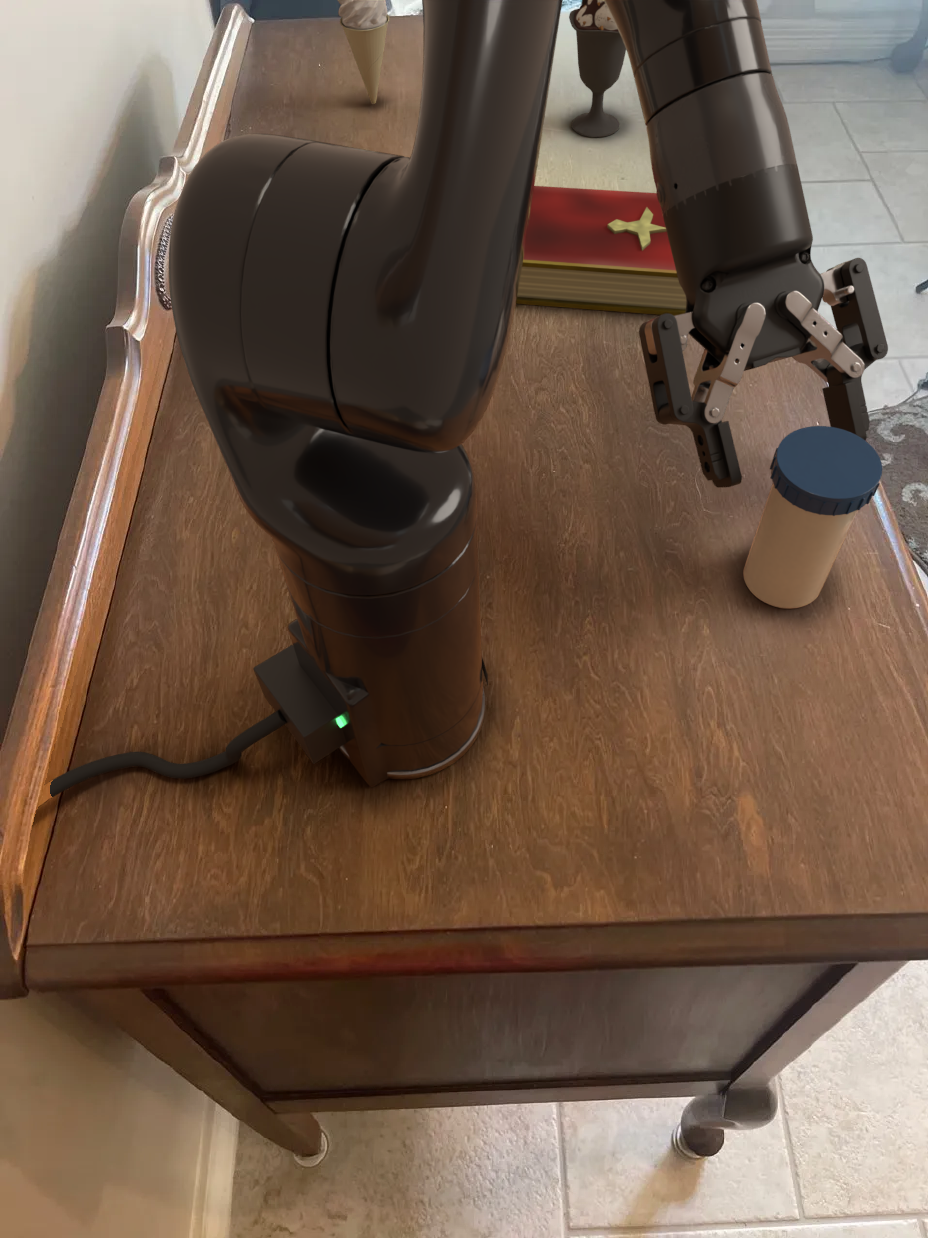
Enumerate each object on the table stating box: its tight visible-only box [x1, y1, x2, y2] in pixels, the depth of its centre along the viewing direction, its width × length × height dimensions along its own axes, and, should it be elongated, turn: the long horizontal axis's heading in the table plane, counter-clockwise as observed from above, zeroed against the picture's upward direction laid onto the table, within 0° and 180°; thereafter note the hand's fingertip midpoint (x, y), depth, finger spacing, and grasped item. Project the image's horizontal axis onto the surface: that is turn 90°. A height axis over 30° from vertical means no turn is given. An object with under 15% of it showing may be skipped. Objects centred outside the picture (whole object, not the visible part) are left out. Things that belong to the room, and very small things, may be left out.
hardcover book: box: [516, 185, 686, 316], centre depth 79 cm, size 12×21×4 cm, turn 80°
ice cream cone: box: [337, 0, 390, 105], centre depth 93 cm, size 5×5×15 cm
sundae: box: [568, 0, 627, 138], centre depth 89 cm, size 7×7×15 cm
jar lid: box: [769, 425, 883, 516], centre depth 52 cm, size 6×6×1 cm
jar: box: [742, 483, 859, 609], centre depth 56 cm, size 5×5×10 cm
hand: (791, 464), depth 55 cm, fingers open, 8 cm apart
